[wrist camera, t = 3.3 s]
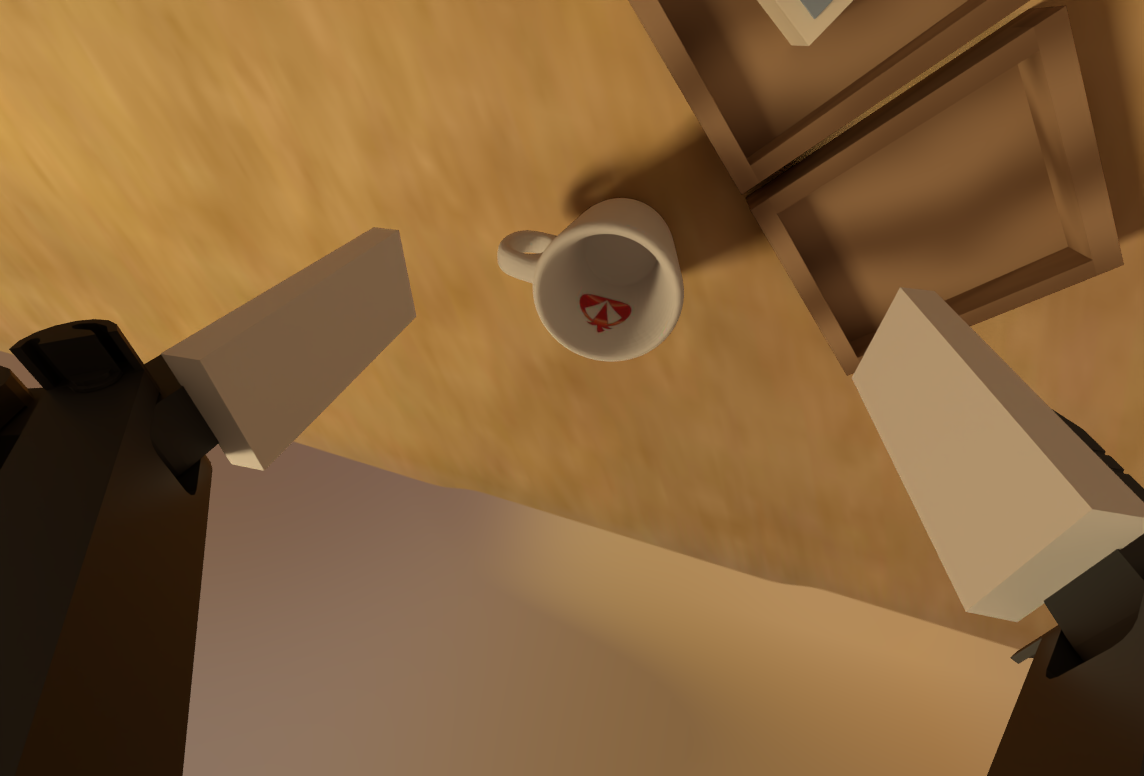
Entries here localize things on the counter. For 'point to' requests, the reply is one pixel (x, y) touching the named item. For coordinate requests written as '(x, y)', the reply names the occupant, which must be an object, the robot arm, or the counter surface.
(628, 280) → the cup
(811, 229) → the tray
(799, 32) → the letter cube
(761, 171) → the tray
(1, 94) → the counter surface
